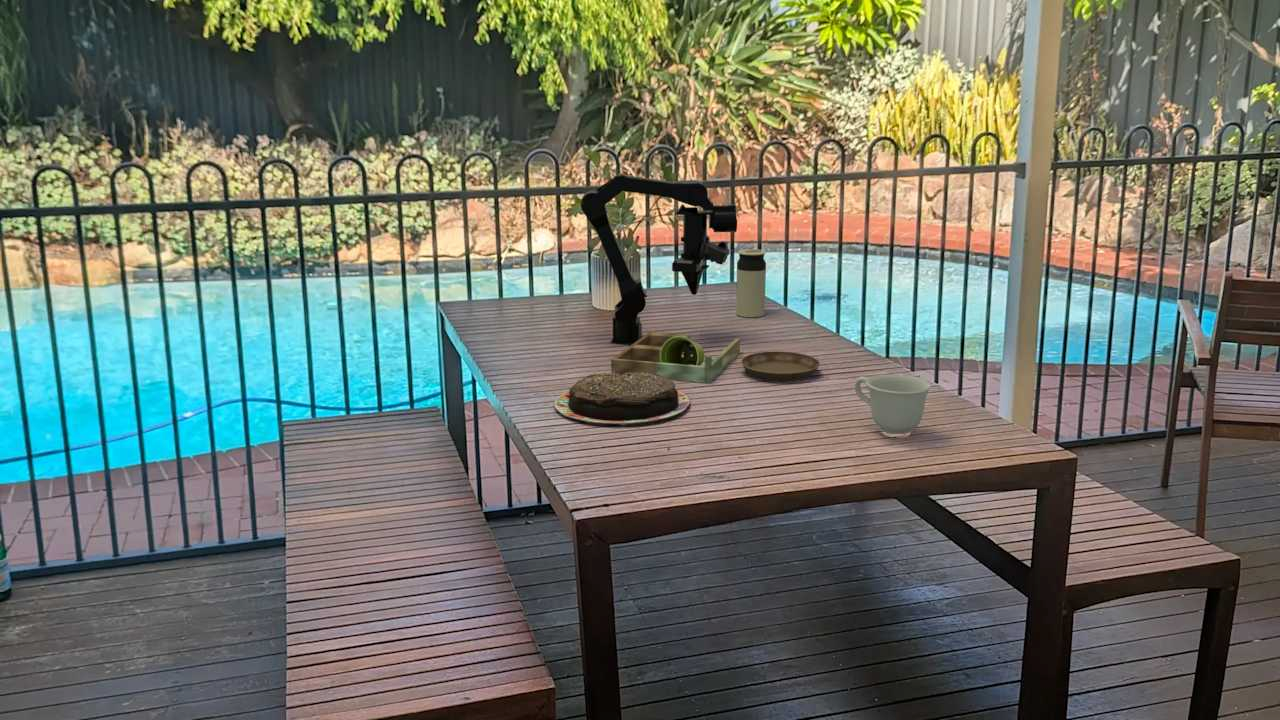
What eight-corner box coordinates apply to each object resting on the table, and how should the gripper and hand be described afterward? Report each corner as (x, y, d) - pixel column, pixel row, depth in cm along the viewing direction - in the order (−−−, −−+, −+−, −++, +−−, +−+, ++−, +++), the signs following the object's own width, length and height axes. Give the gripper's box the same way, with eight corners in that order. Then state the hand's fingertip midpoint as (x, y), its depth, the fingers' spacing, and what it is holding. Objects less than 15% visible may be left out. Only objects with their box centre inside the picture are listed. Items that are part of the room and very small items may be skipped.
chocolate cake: (538, 396, 231) (537, 366, 229) (660, 383, 240) (660, 354, 239) (577, 436, 206) (577, 403, 204) (712, 420, 215) (712, 388, 213)
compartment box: (611, 374, 245) (610, 348, 244) (650, 345, 271) (650, 321, 269) (709, 383, 238) (710, 357, 237) (740, 352, 264) (740, 328, 262)
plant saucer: (816, 387, 236) (817, 373, 235) (735, 382, 240) (736, 369, 239) (821, 366, 253) (822, 353, 252) (746, 362, 256) (746, 349, 256)
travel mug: (769, 313, 305) (771, 250, 300) (756, 319, 298) (758, 254, 294) (743, 310, 309) (745, 248, 304) (731, 316, 302) (732, 252, 298)
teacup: (868, 416, 215) (870, 368, 213) (938, 431, 206) (942, 381, 204) (838, 432, 206) (840, 381, 204) (910, 448, 197) (914, 396, 195)
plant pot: (672, 374, 252) (658, 377, 244) (673, 334, 251) (659, 335, 243) (710, 376, 248) (698, 379, 240) (711, 335, 248) (699, 336, 240)
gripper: (716, 239, 257) (715, 304, 261) (736, 228, 274) (734, 289, 278) (671, 237, 261) (671, 301, 265) (693, 226, 278) (693, 286, 282)
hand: (694, 294), depth 272 cm, fingers closed
